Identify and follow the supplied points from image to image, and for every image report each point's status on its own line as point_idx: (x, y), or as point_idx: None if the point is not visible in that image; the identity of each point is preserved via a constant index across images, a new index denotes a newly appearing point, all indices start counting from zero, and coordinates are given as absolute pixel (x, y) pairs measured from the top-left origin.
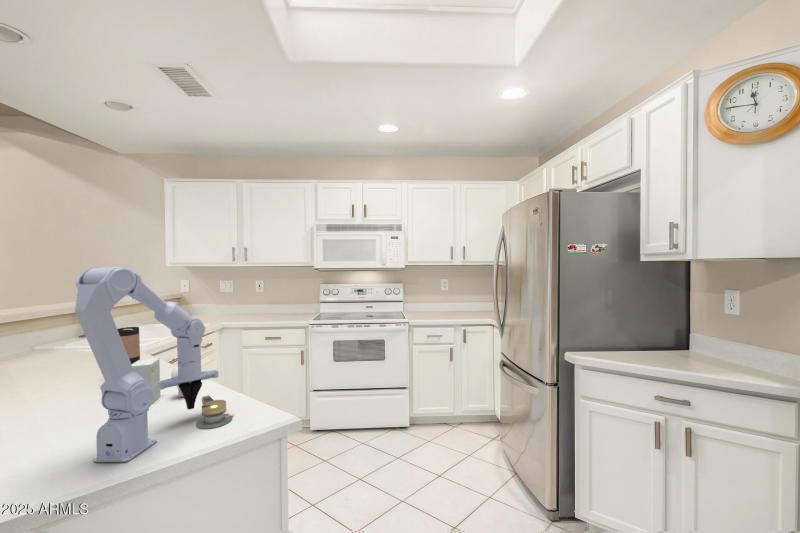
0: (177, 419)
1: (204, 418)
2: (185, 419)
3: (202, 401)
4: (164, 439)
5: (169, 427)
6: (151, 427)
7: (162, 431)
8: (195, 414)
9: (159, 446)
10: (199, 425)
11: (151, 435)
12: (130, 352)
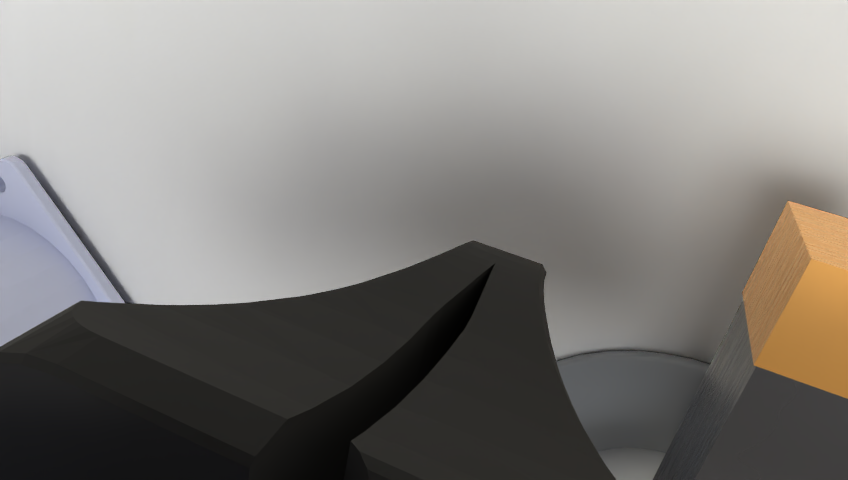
0: (453, 40)
1: (621, 387)
2: (510, 142)
3: (778, 256)
4: None
5: (314, 194)
6: (194, 5)
7: (246, 223)
8: (686, 96)
9: None
10: None
11: (167, 213)
12: None
